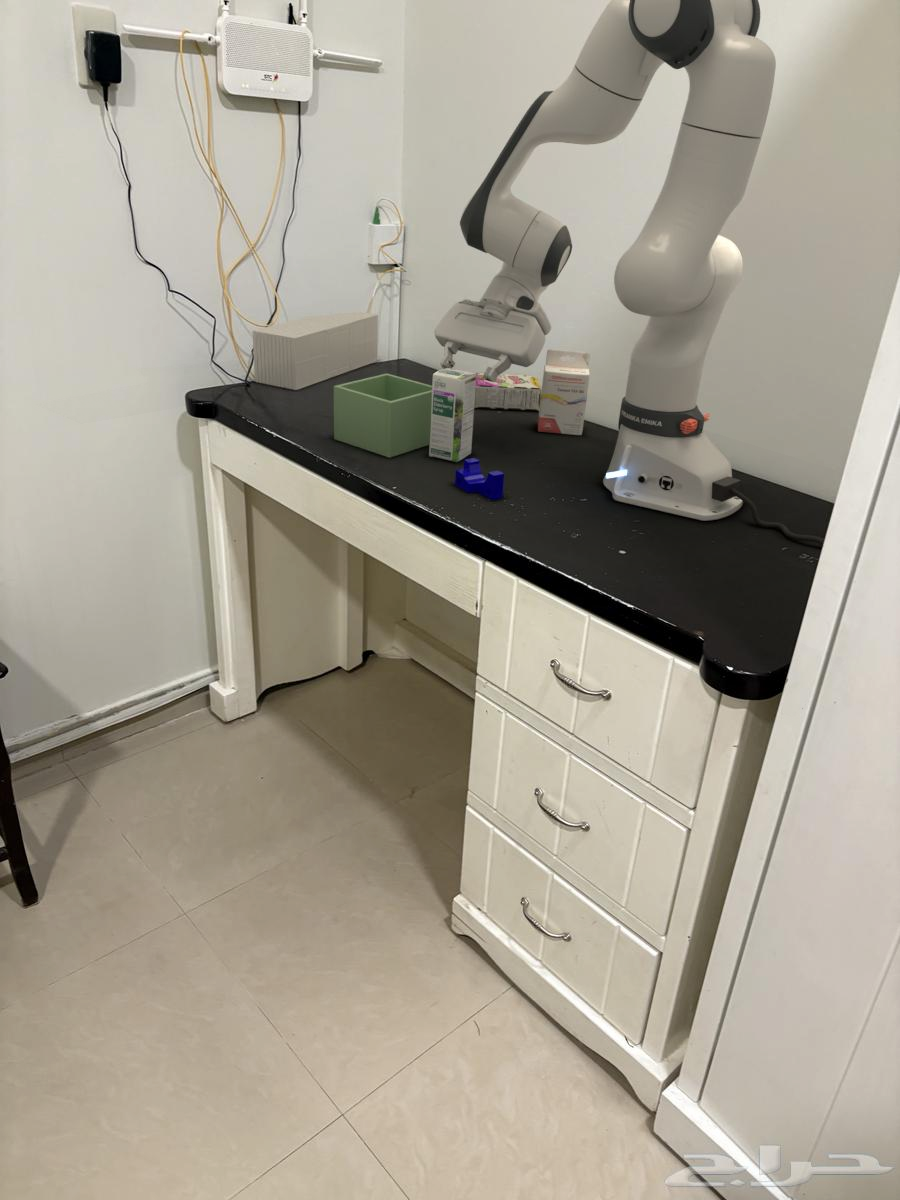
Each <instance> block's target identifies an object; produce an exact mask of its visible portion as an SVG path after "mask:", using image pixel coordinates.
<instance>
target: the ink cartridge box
mask: <svg viewBox="0 0 900 1200" xmlns="http://www.w3.org/2000/svg"><path fill="white" fill-rule="evenodd" d="M567 356H569V357H570V358H575V359H574V360H572V359H571V360H570V359H562V357H567ZM590 357H591V353H589V352H588V351H576V350H565V349H554V348H553V349H552V348H548V349H547V351H546V357H545V365H544V367H543V368H544V369H543V373H542V374H543V376H542V384H541V399H540V408H539V411H538V419H537V432H538V433H539V432H541V433H552V434H562V435H570V436H571V435H573V436H582V435H583V431H584V422H585V416H586V407H587V399H588V391H589V385H590V369H589V364H590Z"/></svg>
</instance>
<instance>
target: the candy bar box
mask: <svg viewBox="0 0 900 1200" xmlns="http://www.w3.org/2000/svg"><path fill="white" fill-rule="evenodd" d="M469 372H470V373H476V388H475V403H474V409H492V410H511V411H513V410H514V411H533V412H534V411H535V412H539V409H540V400H541V391H542V386H541V384H540V381H539V378H538V379H536V378H534V377H531V376H527V375H528V374H519V373H518V374H516V373H501V374H500V375H498V377H497V379H496V380H495V382H490V381H487V380H486V379H485V378H484V373H485V372H473V371H472V372H471V371H469Z"/></svg>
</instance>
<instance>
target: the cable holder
mask: <svg viewBox="0 0 900 1200" xmlns="http://www.w3.org/2000/svg"><path fill="white" fill-rule="evenodd" d="M480 464H481V463H480V460H479V459H477V458H475V457H473V458H466V459H463V468H460V469H455V477H454V486H456V487H457V488H459V489H461V490H463V491H464V492H466V493H468V494H471V493H479V494H480V495H482V496H484V497H486V498H488V499H489V500H491V501H493V500H498V499H499V500H500V499H503V496H504V495H503V494H504V493H503V492H504V481H505V472H502V471H500V470H494V471H489V472H487V476H486V477H485V476H484V475H483V473H482V469H481V465H480Z"/></svg>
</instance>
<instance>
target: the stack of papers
mask: <svg viewBox="0 0 900 1200" xmlns="http://www.w3.org/2000/svg"><path fill="white" fill-rule="evenodd" d="M308 316H309V317H308ZM308 316H304V317H300V318H296V319H292V320H289V321H285V322H280V323H276V324H271V325H269V326H265V327H261V328H256V329H254V330H253V329H252V330H251V331H252V332H251V333H252V349H253V351H252V352H253V369H254V371H253V372H254V382H256V383H259V384H262V385H263V384H264V385H268V386H273V387H279V388H283V389H284V388H285V389H288V390H293V391H298V390H301V389H303V388H306V387H309V386H312V385H315V384H319V383H321V382H323V381H327V380H329V379H331V378H334V377H337V376H340V375H342V374H345V373H348V372H351V371H354V370H356V369H359V368H362V367H365V366H368V365H371V364H374V363H376V362H378V342H379V341H378V339H379V338H378V334H379V333H378V331H379V330H378V329H379V328H378V327H379V317H378V316H379V314H376V313H370V312H363V311H358V312H352V313H343V314H342V313H339V314H334V315H333V314H330V315H320V316H311V315H308Z"/></svg>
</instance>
